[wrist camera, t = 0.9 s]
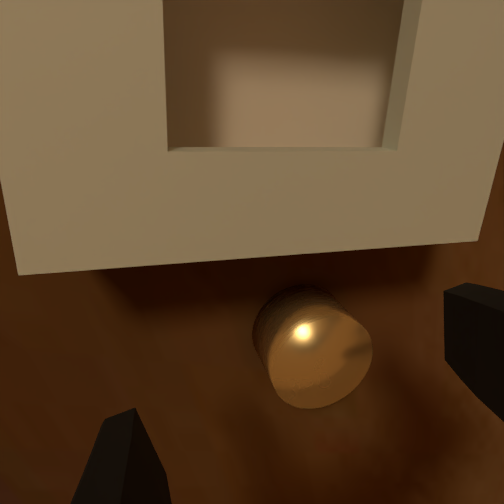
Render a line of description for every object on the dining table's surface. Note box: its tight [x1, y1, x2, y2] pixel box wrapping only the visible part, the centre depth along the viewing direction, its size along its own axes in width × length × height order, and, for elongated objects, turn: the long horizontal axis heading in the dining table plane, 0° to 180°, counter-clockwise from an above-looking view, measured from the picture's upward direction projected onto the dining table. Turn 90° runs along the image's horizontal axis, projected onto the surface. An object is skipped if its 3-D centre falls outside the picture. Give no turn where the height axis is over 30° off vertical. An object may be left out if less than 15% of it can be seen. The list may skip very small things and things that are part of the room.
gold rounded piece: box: [252, 285, 373, 409], centre depth 18 cm, size 4×4×3 cm
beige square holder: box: [0, 0, 504, 275], centre depth 12 cm, size 14×12×5 cm
